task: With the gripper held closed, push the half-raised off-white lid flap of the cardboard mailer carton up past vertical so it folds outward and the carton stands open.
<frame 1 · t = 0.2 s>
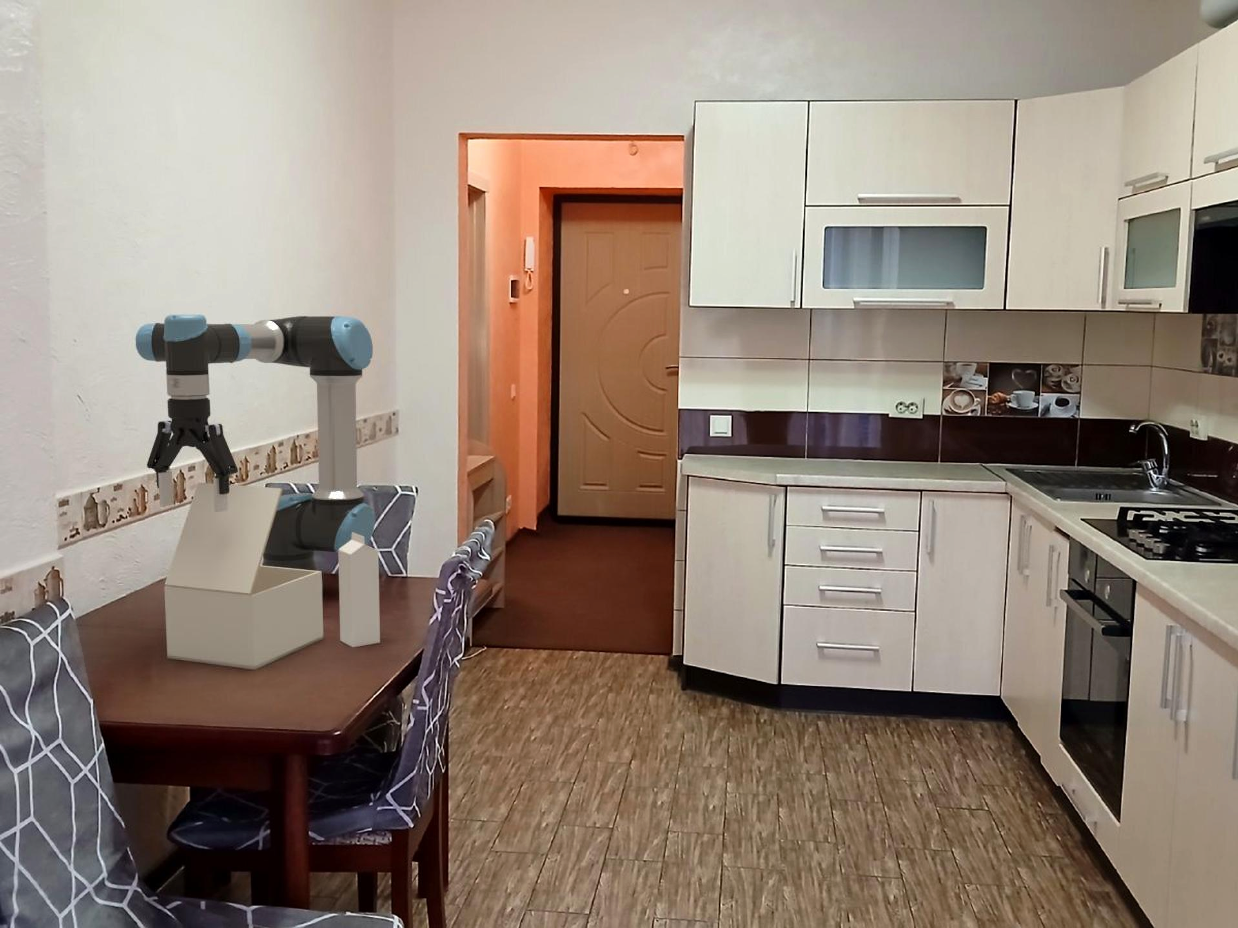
hand: (193, 508, 222), 28 cm above the table, fingers open, 13 cm apart
milk: (360, 642, 235), on the table
flap: (223, 536, 221), point 23 cm above the table, hinge at 60.0°
carton: (247, 648, 229), on the table
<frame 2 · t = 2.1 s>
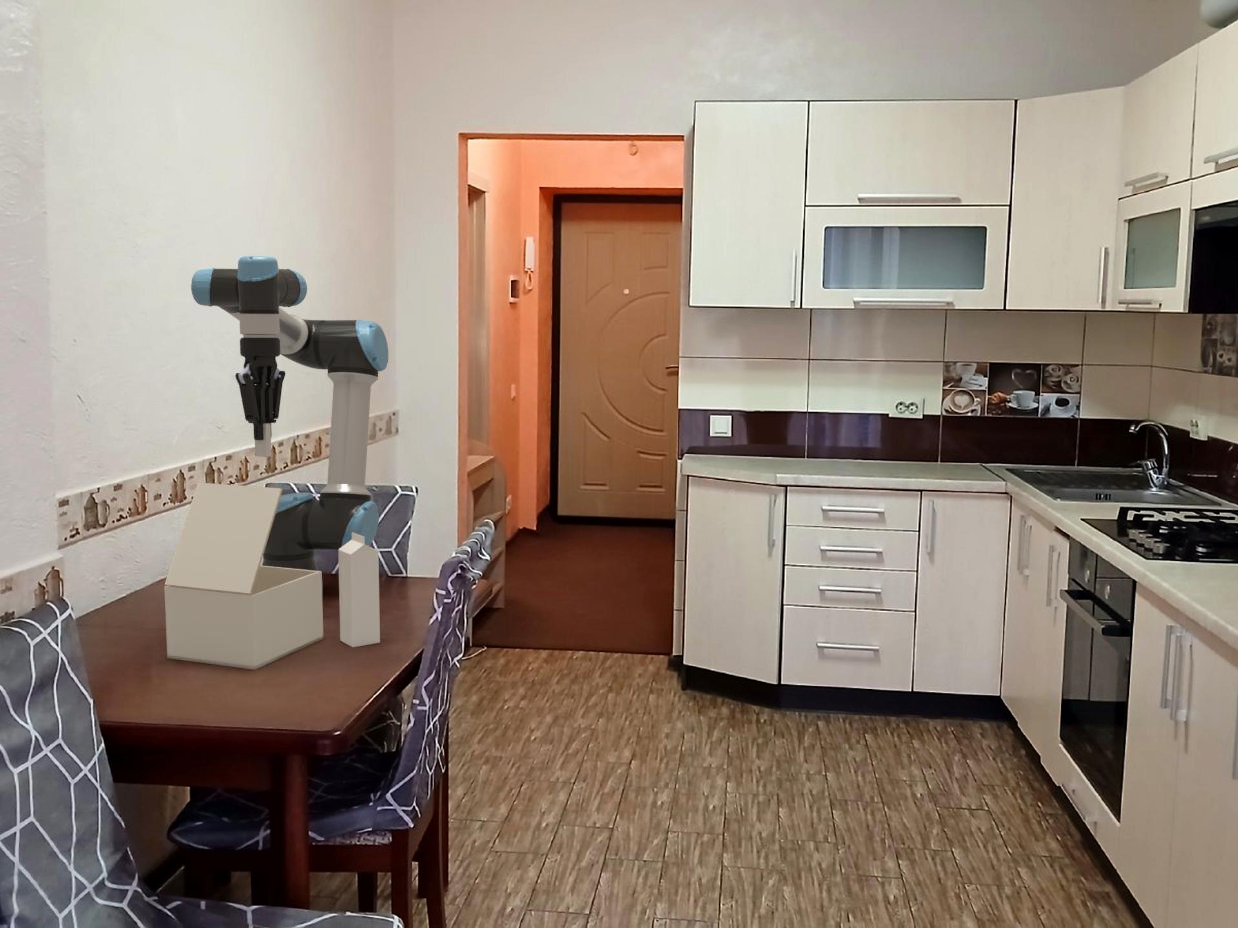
hand: (263, 456, 231), 37 cm above the table, fingers closed
nothing on the table moved.
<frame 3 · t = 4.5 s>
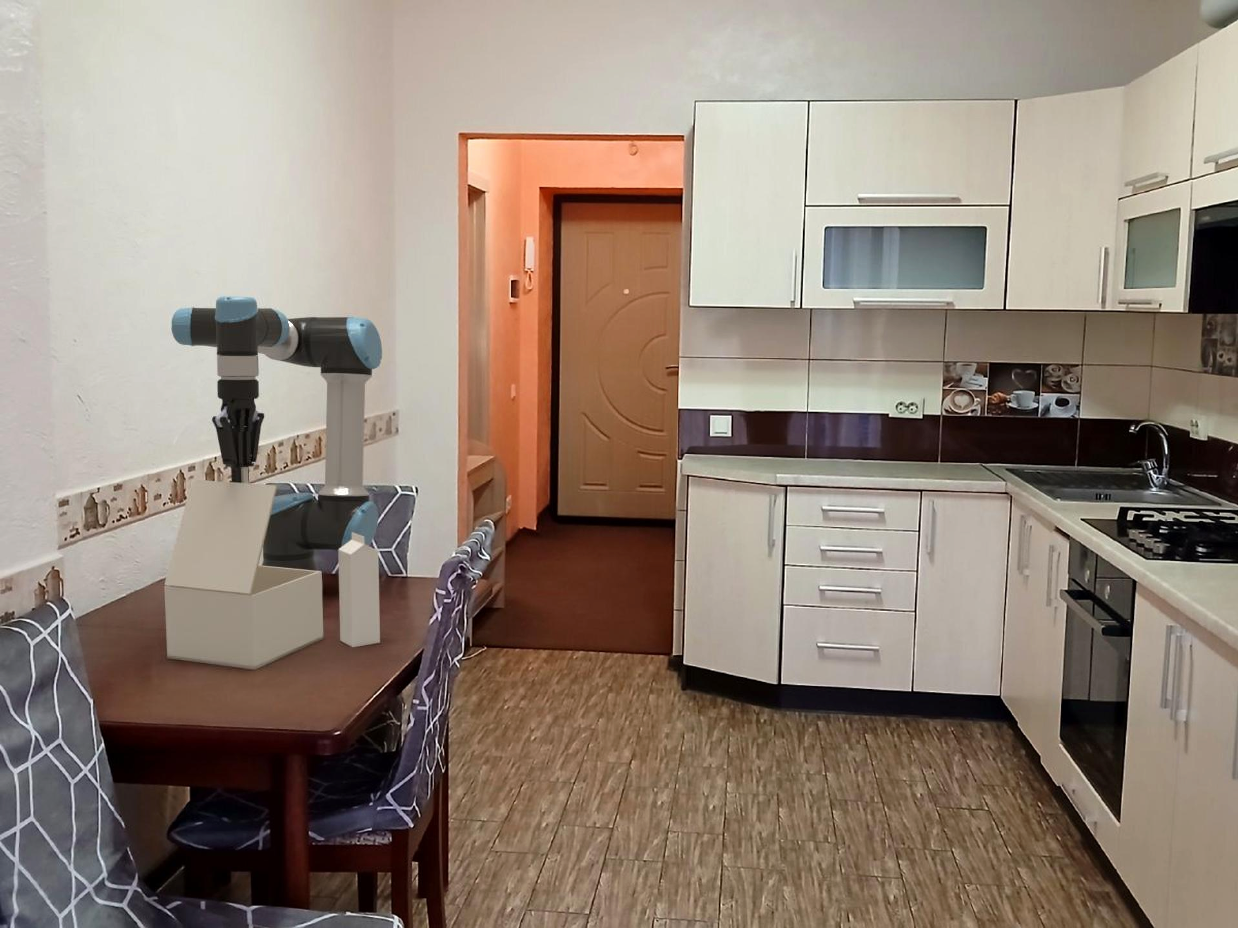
hand: (240, 500, 225), 30 cm above the table, fingers closed
flap: (220, 535, 220), point 24 cm above the table, hinge at 65.1°, touching gripper
everything else where it was.
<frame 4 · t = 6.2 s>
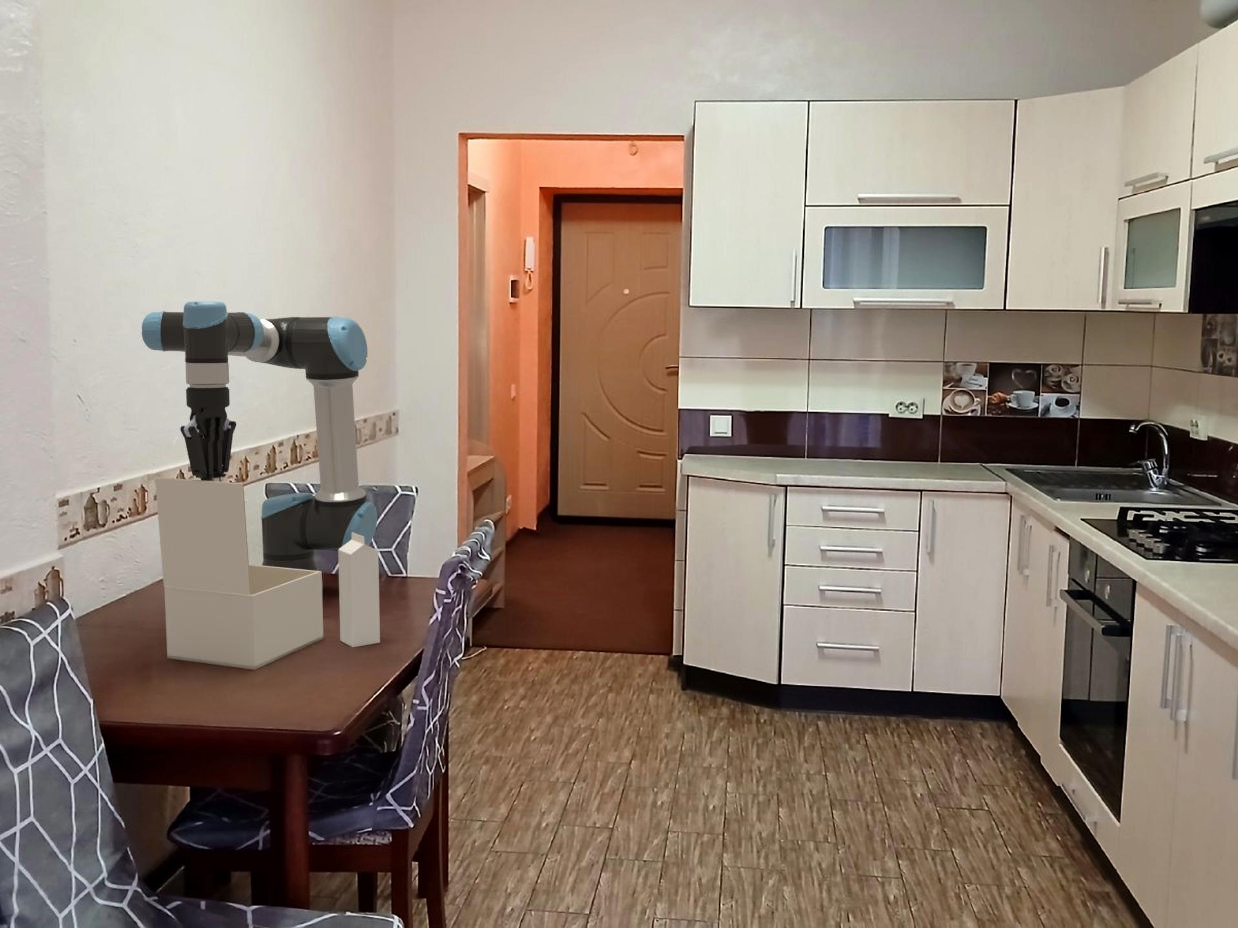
hand: (212, 512, 217), 29 cm above the table, fingers closed
flap: (202, 535, 215), point 25 cm above the table, hinge at 92.9°, touching gripper
everything else where it was.
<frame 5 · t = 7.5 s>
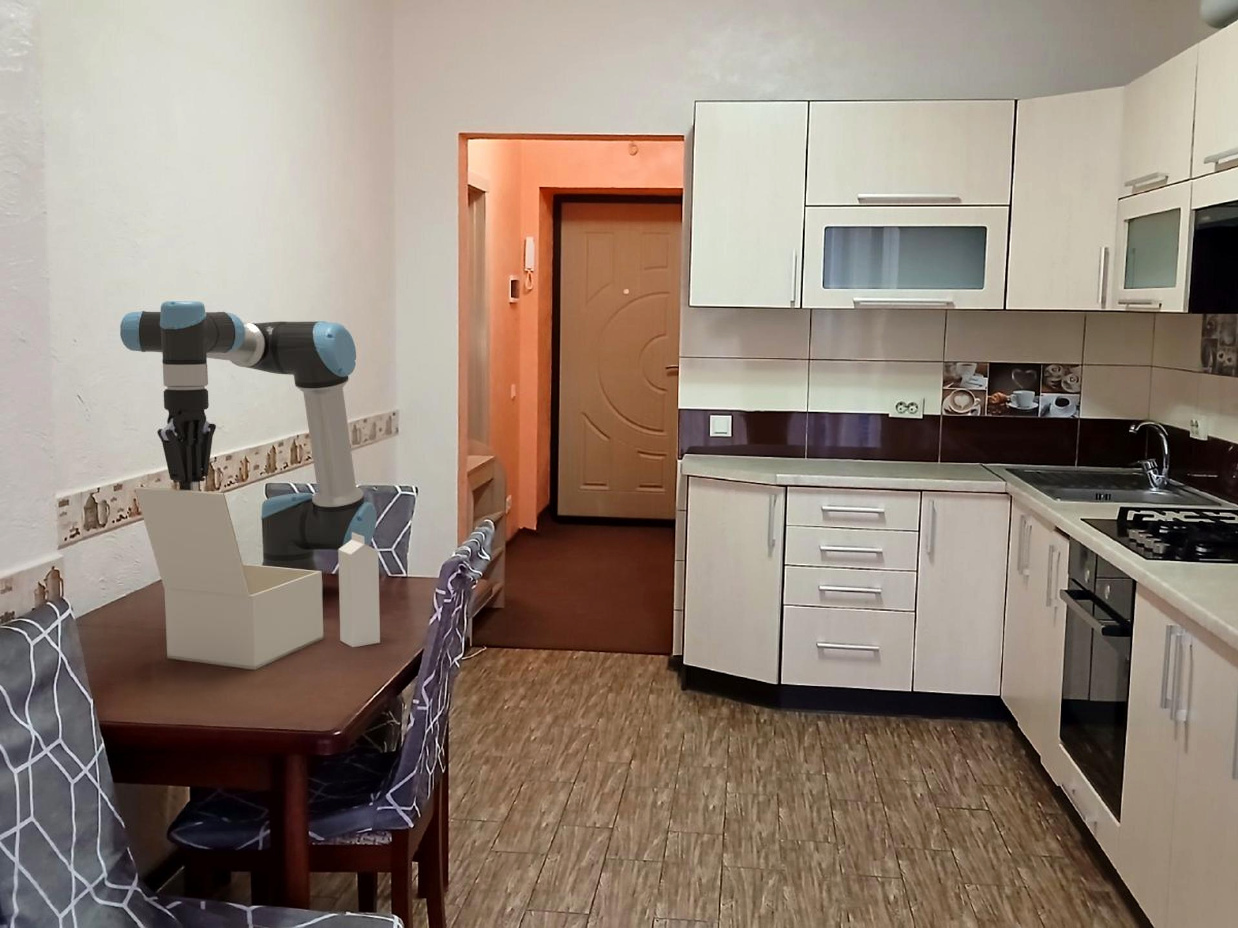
hand: (191, 517, 212), 29 cm above the table, fingers closed
flap: (192, 541, 213), point 24 cm above the table, hinge at 107.8°, touching gripper
everything else where it was.
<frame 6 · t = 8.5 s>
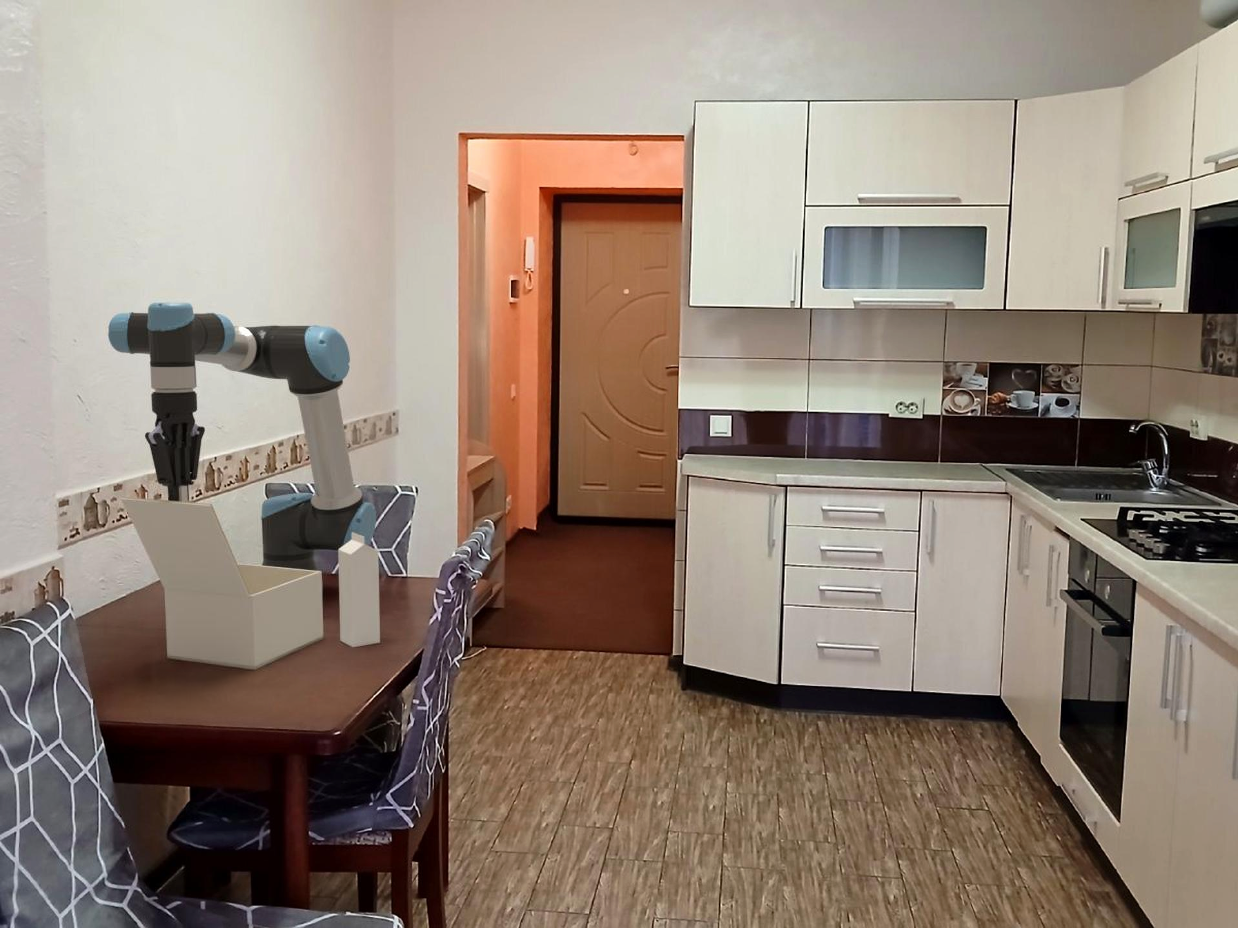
hand: (179, 521, 209), 28 cm above the table, fingers closed
flap: (186, 547, 211), point 23 cm above the table, hinge at 117.9°, touching gripper
everything else where it was.
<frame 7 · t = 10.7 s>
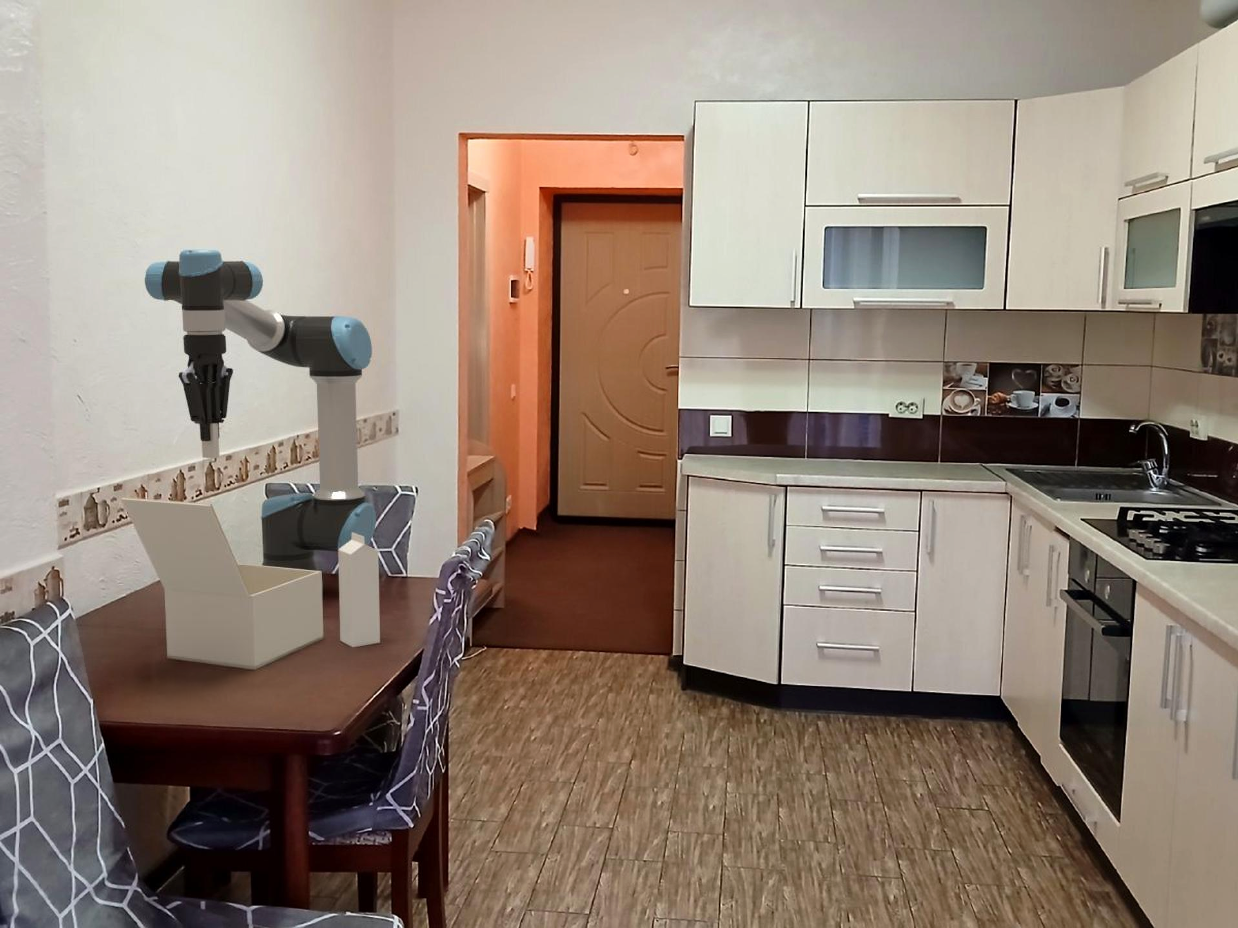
hand: (211, 457, 222), 38 cm above the table, fingers closed
flap: (186, 547, 211), point 23 cm above the table, hinge at 118.0°
everything else where it was.
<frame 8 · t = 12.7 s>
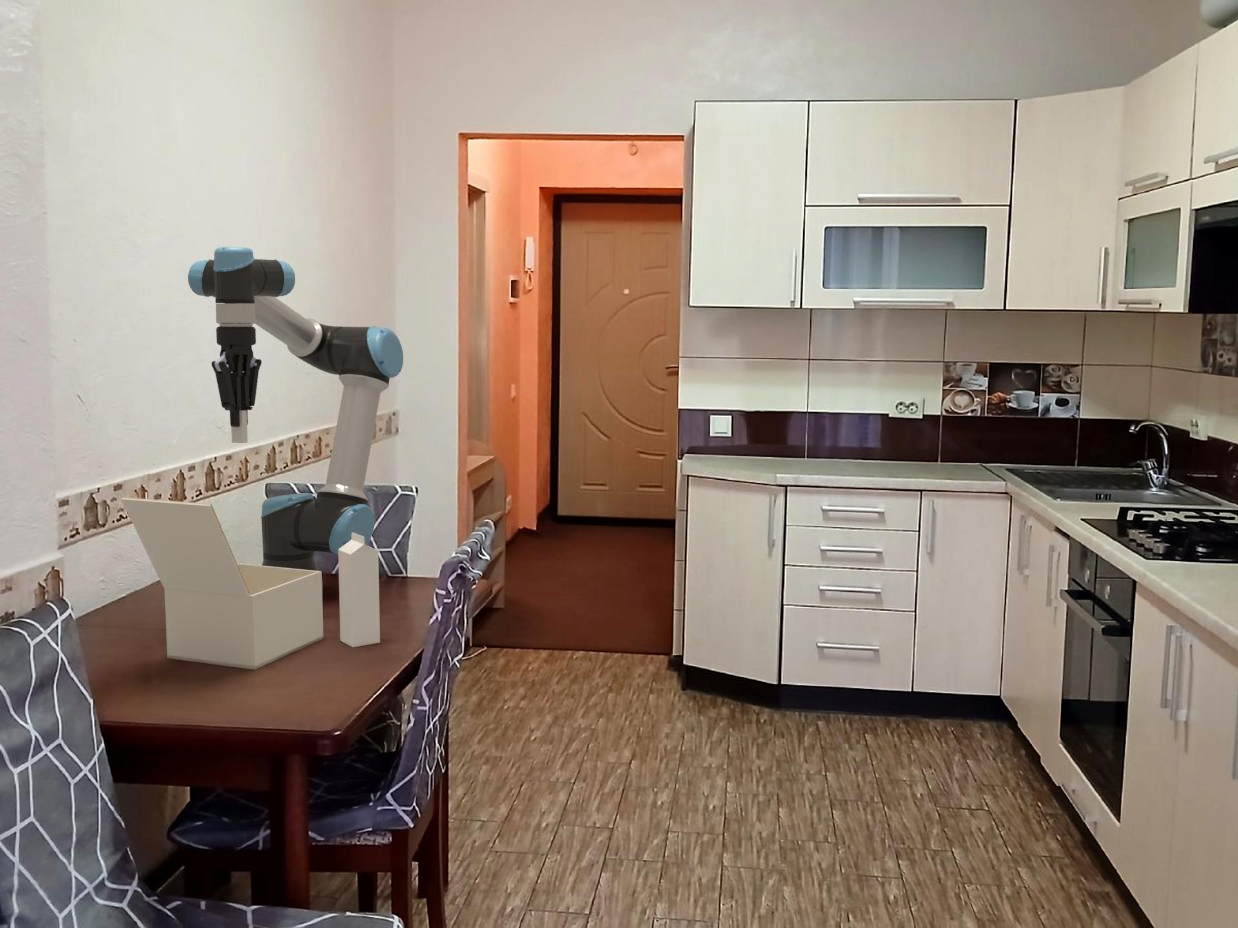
hand: (239, 442, 236), 39 cm above the table, fingers closed
nothing on the table moved.
at the end: flap at +118° (first picture: +60°); milk moved 0.2 cm from its start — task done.
